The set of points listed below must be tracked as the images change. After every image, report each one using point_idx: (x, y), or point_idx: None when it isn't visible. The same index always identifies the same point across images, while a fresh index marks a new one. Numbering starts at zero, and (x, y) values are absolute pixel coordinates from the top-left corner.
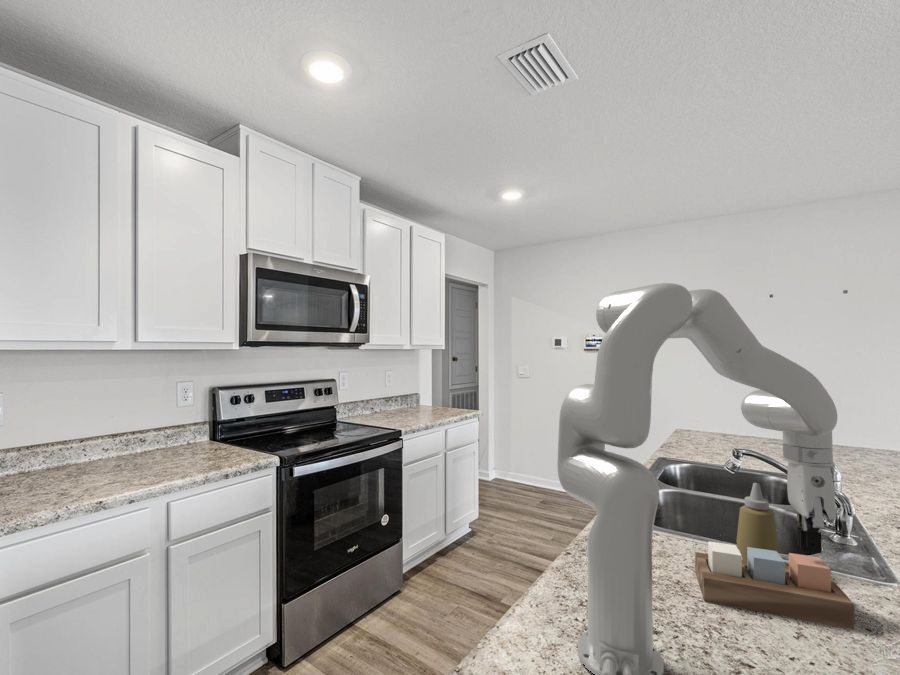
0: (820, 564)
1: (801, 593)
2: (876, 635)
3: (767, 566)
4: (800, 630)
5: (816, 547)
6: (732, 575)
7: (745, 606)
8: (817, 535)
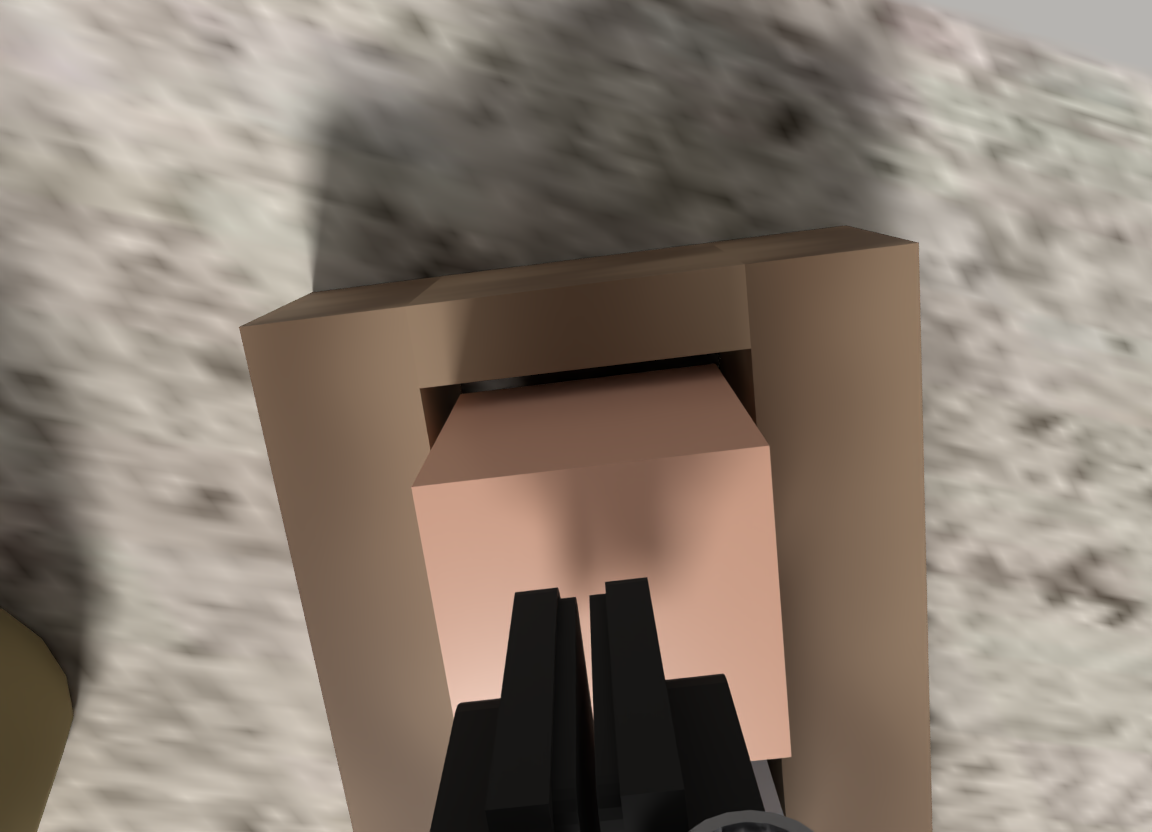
0: (669, 527)
1: (903, 626)
2: (859, 89)
3: None
4: (1016, 571)
5: (725, 690)
6: None
7: None
8: (686, 792)
